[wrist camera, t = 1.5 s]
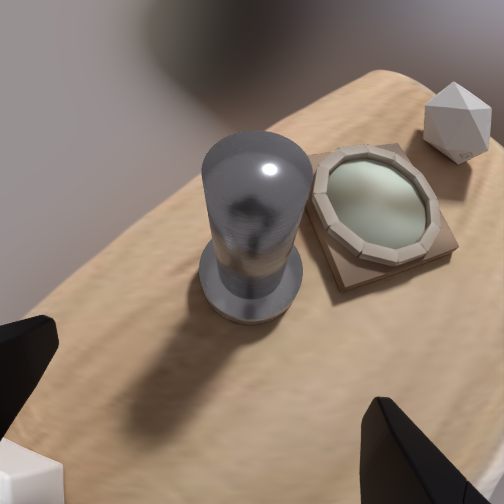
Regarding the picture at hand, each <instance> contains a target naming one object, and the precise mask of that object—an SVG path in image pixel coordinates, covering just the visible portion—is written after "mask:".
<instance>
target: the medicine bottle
mask: <svg viewBox="0 0 504 504" xmlns="http://www.w3.org/2000/svg"><path fill="white" fill-rule="evenodd" d="M0 504H65V501H64V474H63V465H62V464H61V463H59V462H57V461H54V460H52V459H49V458H47V457H44V456H42V455H40V454H37V453H35V452H33V451H31V450H29V449H26V448H24V447H22V446H20V445H18V444H16V443H14V442H12V441H10V440H8V439H6V438H4V437H3V438H2V440H1V442H0Z"/></svg>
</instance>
